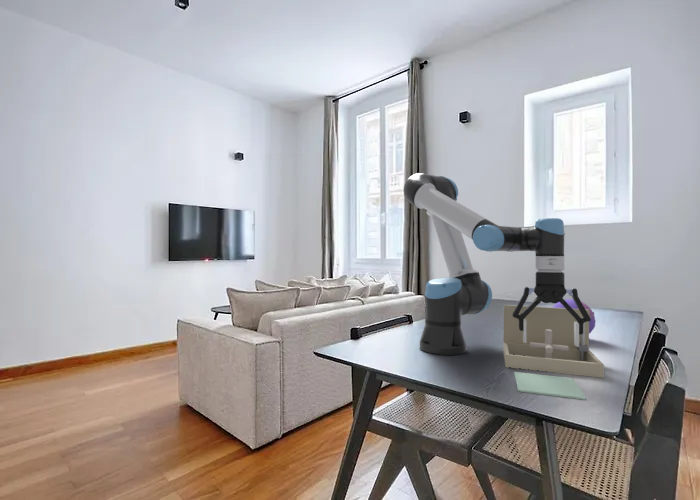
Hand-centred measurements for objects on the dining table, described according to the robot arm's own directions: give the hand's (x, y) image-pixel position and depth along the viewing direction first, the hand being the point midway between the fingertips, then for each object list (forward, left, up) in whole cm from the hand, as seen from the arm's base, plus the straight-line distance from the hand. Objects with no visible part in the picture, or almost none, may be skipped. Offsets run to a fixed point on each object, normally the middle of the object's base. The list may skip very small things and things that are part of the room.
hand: (550, 343), depth 112 cm
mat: (-3, -20, -6) cm, 21 cm away
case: (0, 0, -6) cm, 6 cm away
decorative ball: (+13, +39, -6) cm, 42 cm away
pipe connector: (0, 0, -6) cm, 6 cm away
